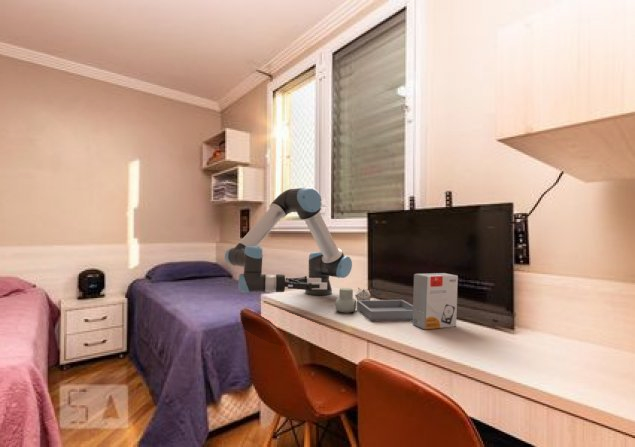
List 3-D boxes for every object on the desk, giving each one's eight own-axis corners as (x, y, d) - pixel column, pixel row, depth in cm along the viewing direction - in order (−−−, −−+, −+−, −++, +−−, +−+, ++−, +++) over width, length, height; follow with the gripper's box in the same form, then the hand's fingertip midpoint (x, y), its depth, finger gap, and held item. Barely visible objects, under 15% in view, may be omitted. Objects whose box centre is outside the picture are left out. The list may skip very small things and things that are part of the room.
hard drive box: (424, 330, 125) (425, 276, 126) (411, 324, 132) (412, 273, 133) (457, 326, 131) (458, 275, 131) (443, 321, 138) (444, 272, 138)
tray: (356, 309, 156) (356, 300, 156) (402, 308, 159) (402, 299, 159) (370, 321, 136) (371, 311, 136) (422, 320, 140) (422, 310, 140)
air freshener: (338, 307, 158) (339, 286, 158) (356, 309, 156) (357, 287, 156) (334, 313, 147) (334, 290, 147) (353, 315, 145) (353, 291, 145)
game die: (365, 313, 163) (365, 299, 158) (351, 304, 168) (351, 290, 162) (375, 302, 169) (376, 288, 163) (361, 293, 173) (362, 279, 168)
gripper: (273, 287, 158) (318, 287, 162) (276, 297, 134) (329, 297, 137) (274, 270, 158) (319, 271, 162) (277, 278, 134) (330, 279, 137)
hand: (324, 283), depth 150 cm, fingers open, 13 cm apart
